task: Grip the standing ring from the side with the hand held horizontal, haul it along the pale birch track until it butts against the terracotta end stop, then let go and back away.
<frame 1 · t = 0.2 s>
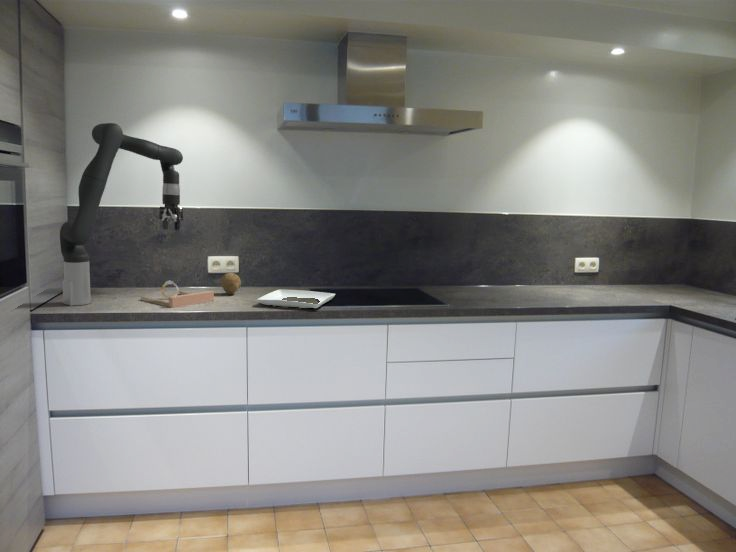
hand: (171, 229, 272), 28 cm above the counter, tool pointing down, fingers open, 8 cm apart
square plate: (297, 304, 257), on the counter
ring: (170, 299, 257), on the counter
end stop: (191, 303, 248), on the counter
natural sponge: (231, 294, 272), on the counter
birch track: (175, 300, 254), on the counter
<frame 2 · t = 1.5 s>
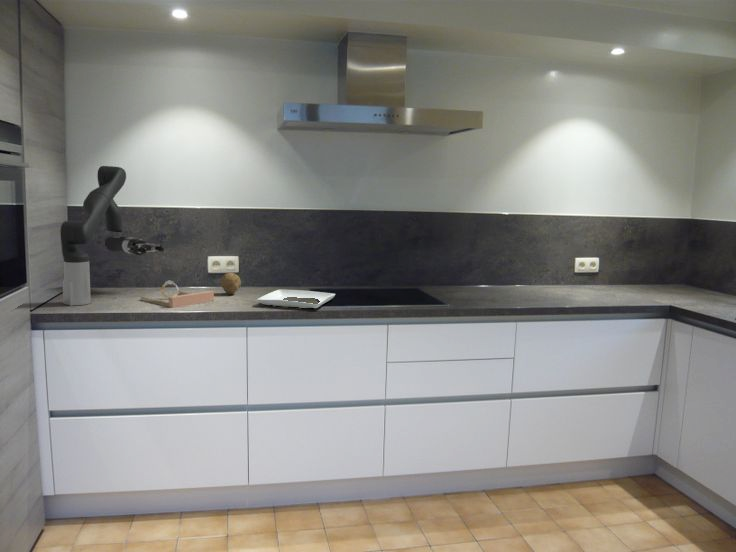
hand: (154, 250, 260), 20 cm above the counter, tool horizontal, fingers open, 8 cm apart
nothing on the counter moved.
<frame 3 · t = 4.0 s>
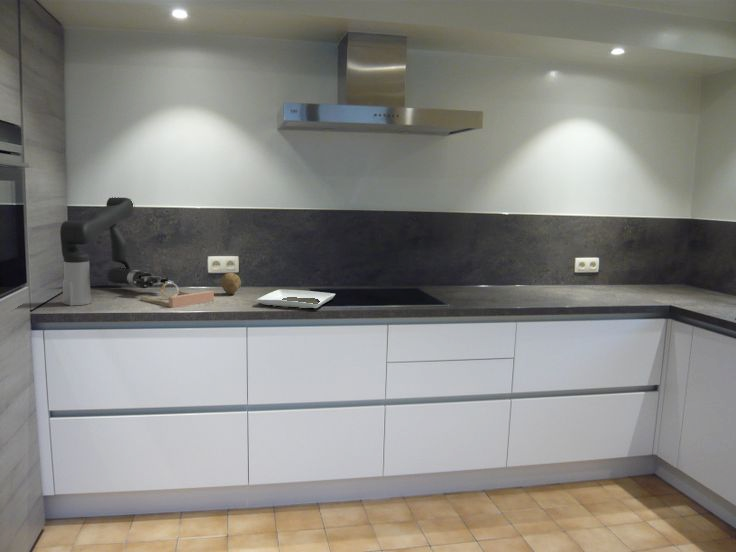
hand: (161, 283, 260), 6 cm above the counter, tool horizontal, fingers open, 8 cm apart
nothing on the counter moved.
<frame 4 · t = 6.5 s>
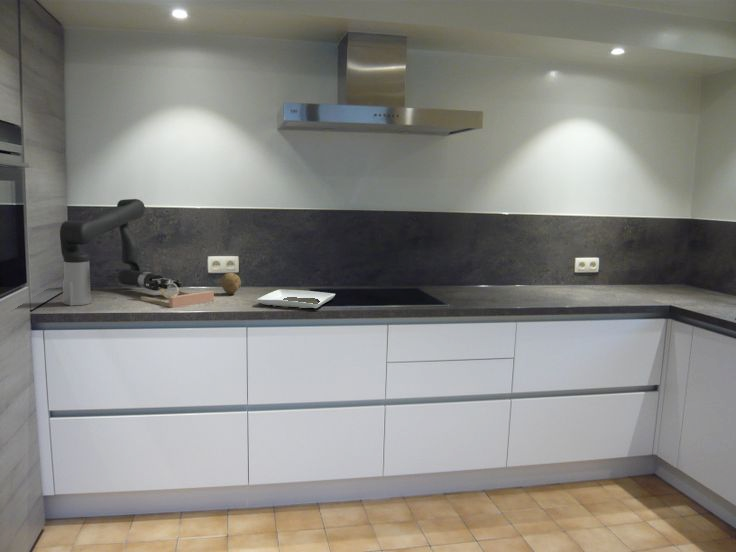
hand: (173, 285, 255), 6 cm above the counter, tool horizontal, fingers closed on ring, 6 cm apart
ring: (170, 299, 257), on the counter, touching gripper
everything else where it was.
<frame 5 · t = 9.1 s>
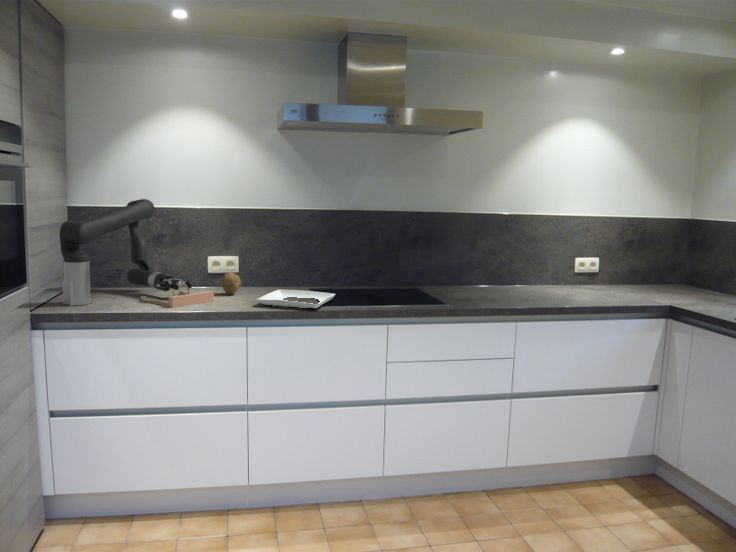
hand: (184, 286, 250), 7 cm above the counter, tool horizontal, fingers closed on ring, 6 cm apart
ring: (181, 300, 252), on the counter, touching gripper
everything else where it was.
when the fingers open (6 cm above the counter, at t = 11.7 s): ring stays where it is, on the counter.
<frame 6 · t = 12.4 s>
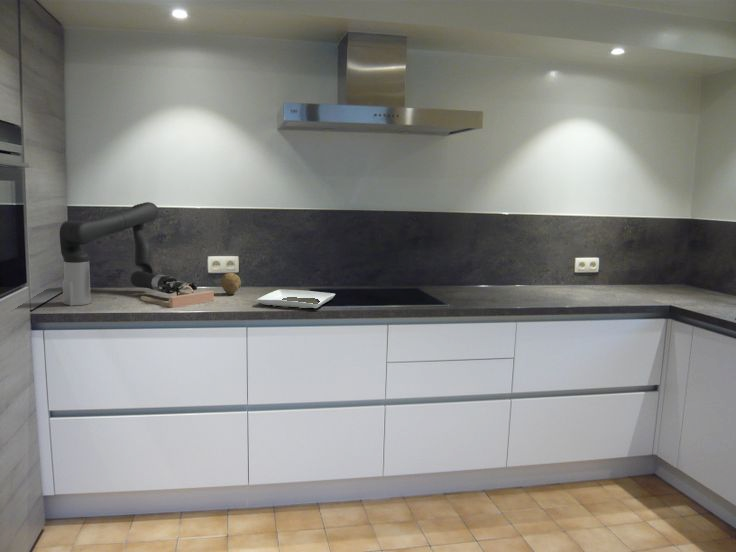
hand: (187, 288, 249), 6 cm above the counter, tool horizontal, fingers open, 8 cm apart
ring: (185, 302, 251), on the counter
everything else where it was.
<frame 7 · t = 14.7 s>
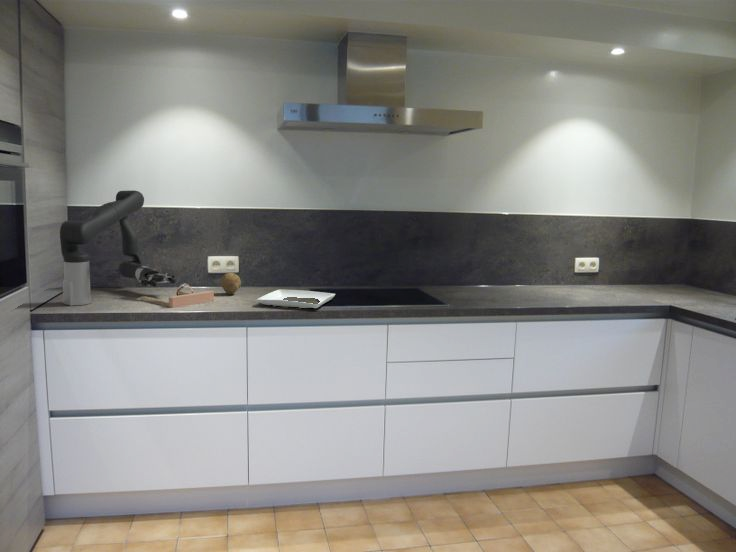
hand: (164, 282, 255), 7 cm above the counter, tool horizontal, fingers open, 8 cm apart
nothing on the counter moved.
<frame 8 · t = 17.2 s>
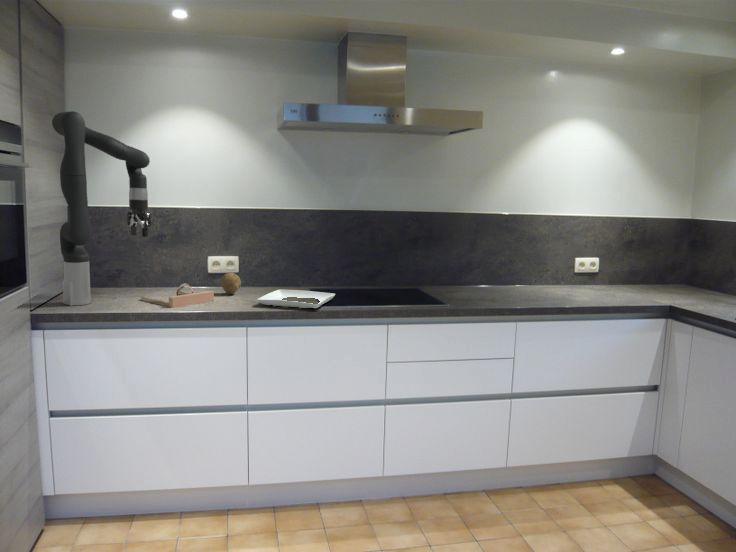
hand: (139, 236, 259), 26 cm above the counter, tool pointing down, fingers open, 8 cm apart
nothing on the counter moved.
at the end: ring inside the target area (0.3 cm from its centre), on the counter; ring tilted 0°; the gripper is holding nothing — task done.
